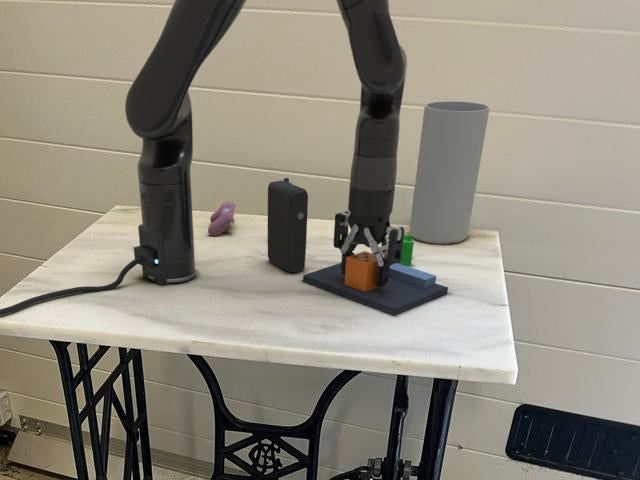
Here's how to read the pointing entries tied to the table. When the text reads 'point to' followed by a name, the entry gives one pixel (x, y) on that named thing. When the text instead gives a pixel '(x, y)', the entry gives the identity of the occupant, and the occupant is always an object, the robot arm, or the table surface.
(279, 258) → the dark grey rounded box
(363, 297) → the bed mat
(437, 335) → the table surface
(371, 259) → the die
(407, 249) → the pipe clamp
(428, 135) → the cylinder vase
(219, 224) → the purple rounded lump
